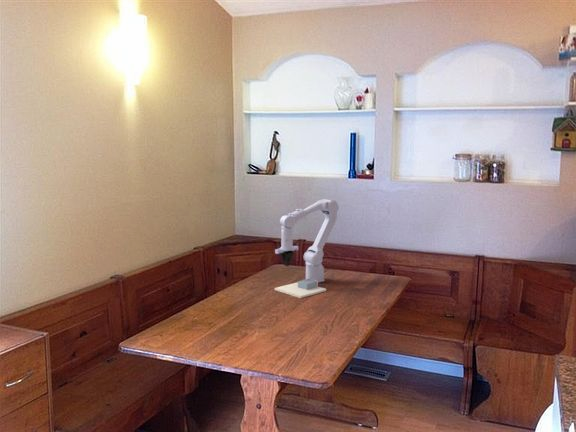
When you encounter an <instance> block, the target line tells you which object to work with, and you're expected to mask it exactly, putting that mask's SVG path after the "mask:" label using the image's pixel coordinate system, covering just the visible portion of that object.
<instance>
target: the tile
mask: <svg viewBox="0 0 576 432" xmlns="http://www.w3.org/2000/svg"><path fill="white" fill-rule="evenodd" d="M274 291H277V292H280V293H283V294H287V295H289V296H292V297H295V298H299V299H303V298H306V297H310V296H313V295H314V296H315V295H317V294H319V293H323V292H327V288H325V287H321V286H318V287H315V288H312V289H308V290H305V289H302V288H299V287H298V281H297V282H294V283H288V284H286V285H282V286H278V287H274Z"/></svg>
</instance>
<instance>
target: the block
mask: <svg viewBox="0 0 576 432" xmlns="http://www.w3.org/2000/svg"><path fill="white" fill-rule="evenodd" d="M297 282H298V287H299V288H302V289H305V290H308V289H312V288H315V287H319V286H318V285H319V282H318V281H316V280H312V279H306V278H305V280H304V279H302V280H299V281H297Z"/></svg>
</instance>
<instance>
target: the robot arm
mask: <svg viewBox="0 0 576 432" xmlns="http://www.w3.org/2000/svg"><path fill="white" fill-rule="evenodd" d="M339 209H340V207H339V205H338V202H337V201H336V200H334V199H327V198H321V199H318V200H317V201H316V202H315V203H312V204H311V205H309V206H307V207H306V208H304V209H302V208H296V209H295V211H292V212H289V213H288V214H287V215H286V214H285V215H282V216H281V217H280V219H279V220H278V222H279V225H280V228H281V230H280V231H281V236H280V238H281V239H280V240H281V241H280V245H281V246H280V247H279V248H276V249H274V253H275V254H276V255H278V254H280V256H281V258H282V261H283V264H284V265H283V266H285V267H289V266H290V263H291V260H292V257H293V255H294V254H295V252H294V251H299V246H298V245H293V244H294V243H293V238H294V227H295V225H296V224H297V223H300V222H301V221H303V220H305V219H306V216H309V215H311V214H314V213H316V212H318V211H321V212H322V214H323V216H324V221H323V223H322V225H321V227H320V228H319V231H318V233H317V235H316V238H315V240H314V242H313V244H312V245H311V246H309V247H308V248H307V250H306V251H305V252H304V254H303V261H305V279H312V280H316V281H318V283H322V282H325V281H326V279H325V277H324V275H325V267H324V265H323V264H322V263H323V258H324V254H325V253H324V251H323V249H324V246H325V245H326V243H327V241H328V239H329V236H330V234H331V232H332V229H333V228H334V226H335V223H336V221H337V216H338V210H339ZM305 279H303V280H305Z"/></svg>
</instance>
